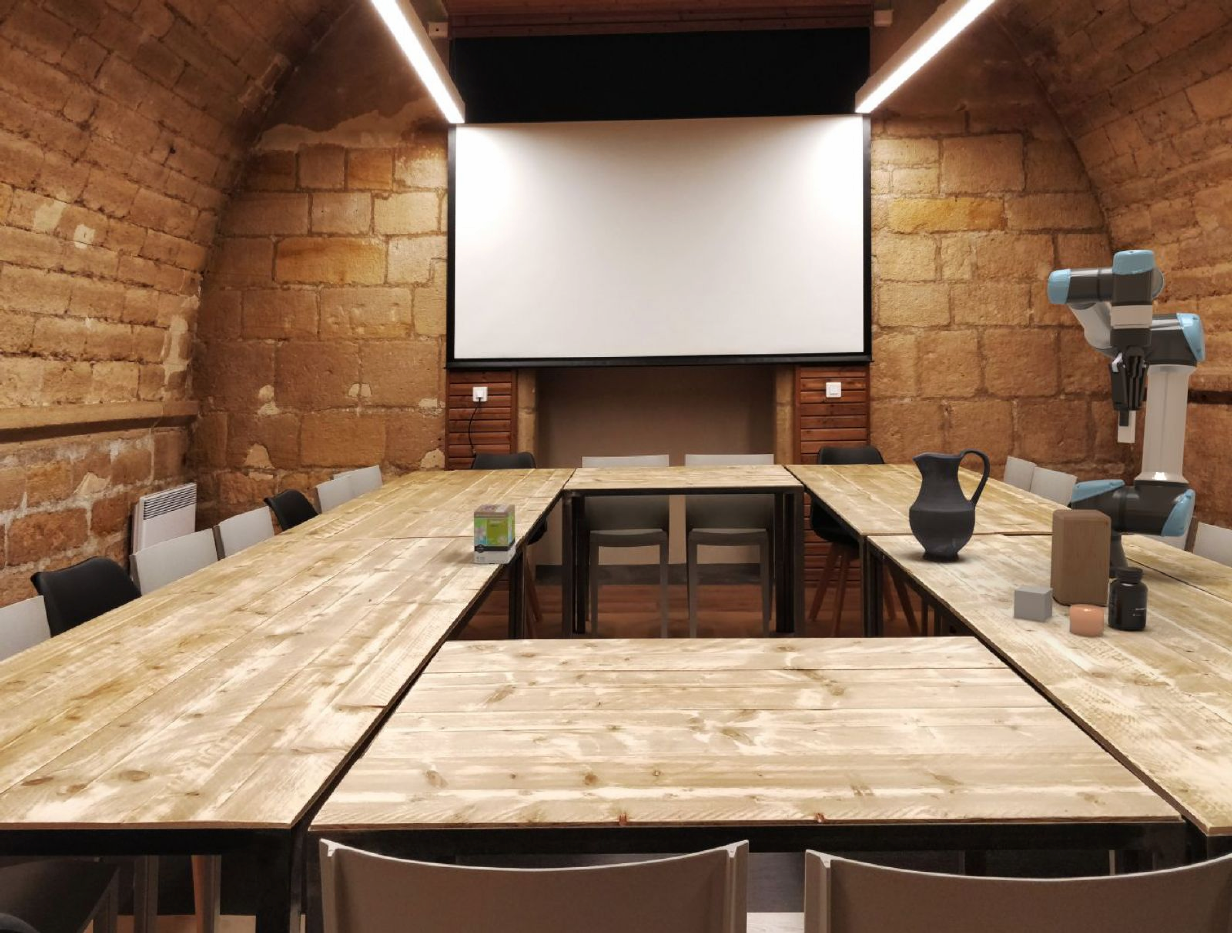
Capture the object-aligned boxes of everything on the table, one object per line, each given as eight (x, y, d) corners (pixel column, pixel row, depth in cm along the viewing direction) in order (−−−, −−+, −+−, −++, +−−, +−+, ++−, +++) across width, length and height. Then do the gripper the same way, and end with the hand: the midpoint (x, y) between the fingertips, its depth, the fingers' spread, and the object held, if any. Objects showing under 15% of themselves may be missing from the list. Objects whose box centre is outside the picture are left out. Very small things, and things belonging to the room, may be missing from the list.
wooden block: (1109, 607, 209) (1112, 516, 207) (1059, 605, 211) (1062, 515, 209) (1095, 596, 219) (1099, 509, 217) (1048, 594, 221) (1051, 508, 219)
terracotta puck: (1079, 626, 195) (1080, 602, 194) (1109, 633, 190) (1110, 608, 189) (1063, 632, 191) (1064, 607, 191) (1093, 638, 186) (1094, 613, 186)
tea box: (510, 564, 264) (508, 510, 263) (473, 564, 265) (471, 511, 263) (516, 553, 279) (515, 502, 278) (481, 553, 280) (480, 503, 278)
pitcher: (903, 552, 273) (905, 446, 269) (980, 552, 270) (983, 446, 267) (913, 564, 256) (915, 452, 252) (995, 565, 253) (998, 451, 249)
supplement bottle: (1144, 633, 189) (1147, 573, 188) (1106, 628, 193) (1108, 569, 192) (1147, 625, 195) (1149, 566, 194) (1109, 620, 199) (1111, 563, 197)
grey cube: (1022, 612, 207) (1023, 584, 206) (1052, 616, 203) (1052, 588, 202) (1013, 618, 202) (1014, 589, 202) (1043, 622, 198) (1044, 593, 198)
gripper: (1127, 328, 204) (1123, 439, 207) (1096, 328, 197) (1091, 443, 199) (1164, 327, 198) (1159, 441, 201) (1133, 326, 191) (1128, 445, 193)
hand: (1126, 442), depth 200 cm, fingers closed
